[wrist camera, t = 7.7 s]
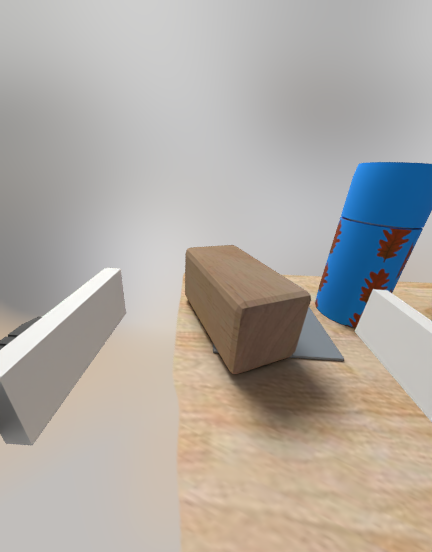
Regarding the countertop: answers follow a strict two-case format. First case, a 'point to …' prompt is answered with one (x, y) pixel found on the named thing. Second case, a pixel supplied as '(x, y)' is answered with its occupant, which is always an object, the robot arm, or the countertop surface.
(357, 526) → the countertop surface
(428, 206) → the thermos
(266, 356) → the block
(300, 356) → the mat
